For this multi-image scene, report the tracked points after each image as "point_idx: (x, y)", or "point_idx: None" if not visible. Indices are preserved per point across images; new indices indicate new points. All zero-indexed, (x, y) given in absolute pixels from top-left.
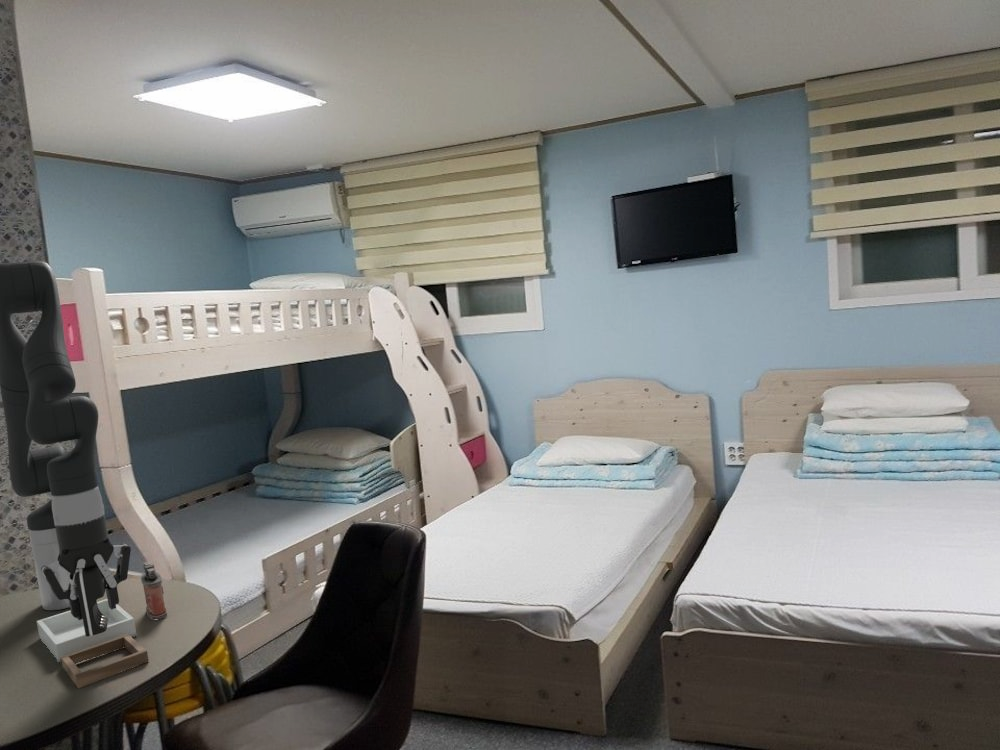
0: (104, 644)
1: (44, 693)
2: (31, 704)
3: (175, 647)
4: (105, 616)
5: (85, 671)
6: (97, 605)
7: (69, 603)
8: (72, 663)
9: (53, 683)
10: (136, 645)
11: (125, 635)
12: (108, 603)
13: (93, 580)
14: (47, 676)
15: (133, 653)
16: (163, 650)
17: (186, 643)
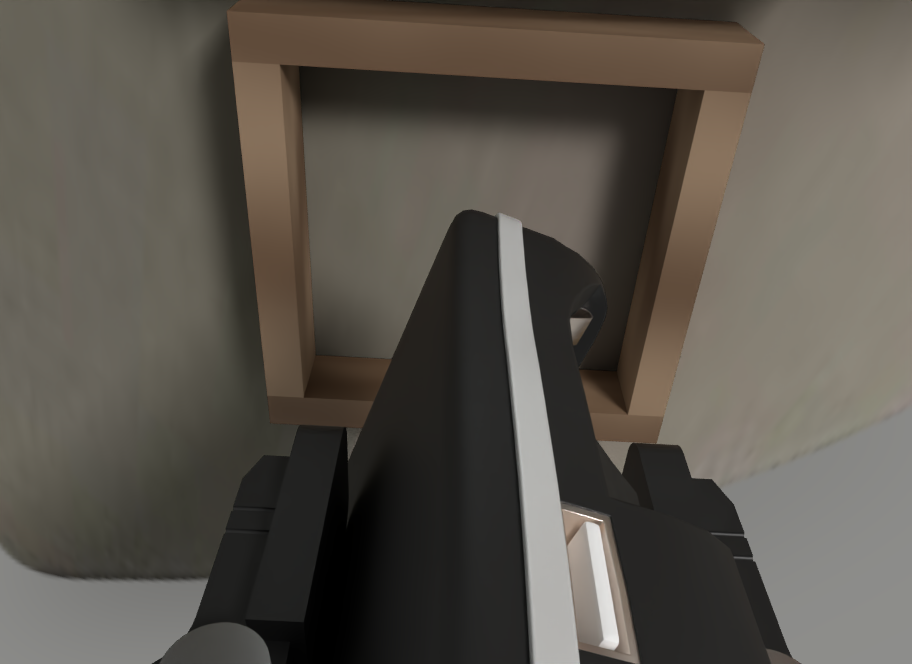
0: (553, 79)
1: (121, 281)
2: (59, 346)
3: (833, 351)
4: (591, 319)
5: (323, 402)
6: (569, 331)
7: (210, 584)
8: (282, 225)
9: (174, 196)
10: (669, 321)
11: (732, 68)
12: (638, 473)
13: None
14: (143, 41)
15: (645, 262)
16: (775, 330)
17: (897, 355)
